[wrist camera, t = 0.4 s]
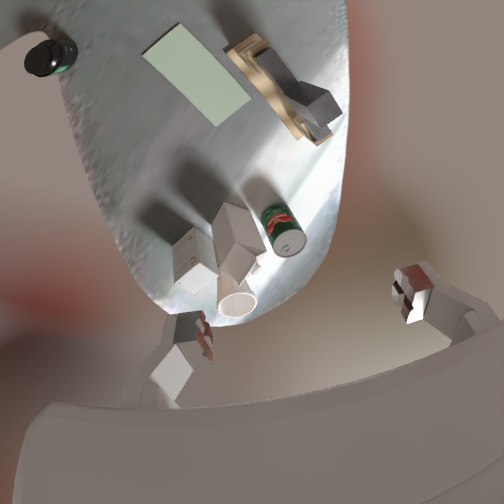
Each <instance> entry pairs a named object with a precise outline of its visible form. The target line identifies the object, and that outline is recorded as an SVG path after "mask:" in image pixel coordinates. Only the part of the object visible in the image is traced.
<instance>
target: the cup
mask: <svg viewBox="0 0 504 504" xmlns="http://www.w3.org/2000/svg"><path fill="white" fill-rule="evenodd" d="M218 272H219V277H218V278H217V309H218V312H219V313H220V314H221V315H223V316H225V317H229V318H238V317H241V316H245V315H246V314H248V313H250V312H251V311H252V310H253V309H254V308H255V307H256V304H257V299H256V296H255V294H254V292H253V291H252V290H251V289H250V287H249V285H248V283H247V281H246V279H245V280H244V281H243V283H242V284H241V286H240V287H239V286H238V283H237V282H236V281H235V280H233V279H232V278H231V277H230V276H228V275H227V274H226V273H225V272H223V271H222V270H221V269H220V267H218Z"/></svg>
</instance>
